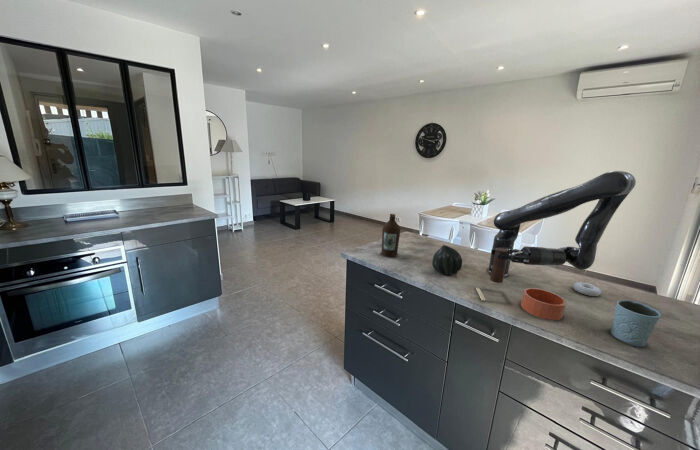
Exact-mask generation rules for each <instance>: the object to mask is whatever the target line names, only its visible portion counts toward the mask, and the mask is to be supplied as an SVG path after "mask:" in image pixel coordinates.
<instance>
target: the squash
mask: <svg viewBox="0 0 700 450" xmlns="http://www.w3.org/2000/svg"><path fill="white" fill-rule="evenodd" d="M431 262H432V264H431V265H432V267H433V269H434V270H435V271H437V272H439V274H441V275H443V274H445V275H446V276H449V275H450V276H451V275H452V274H457V273H458V272H460V271H461V269H462V266H463V258H462V256H461V254H460V252H458V250H457V249H455V248H453V247H451V246H448V245H445V244H443V245H441V246H440V247H439V249H437V251H435V253H434V254H433V257H432V260H431Z"/></svg>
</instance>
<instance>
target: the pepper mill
mask: <svg viewBox="0 0 700 450" xmlns="http://www.w3.org/2000/svg"><path fill="white" fill-rule="evenodd" d="M508 252H509V251H508V250H507V249H504V248H496V249H495V255H494V260H493V266H492V272H491V274H490V278H489V280H490V281H491V282H493V283H495V284H502V283H504V278H505V277H504V273H505V268H506V262H507V260H506V259H498V258H497V255H498V254H508Z"/></svg>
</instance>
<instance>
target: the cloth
mask: <svg viewBox="0 0 700 450" xmlns="http://www.w3.org/2000/svg"><path fill="white" fill-rule="evenodd" d="M475 290H476V292H477V294H478V296H479V298H480V299H481V301H483V302H487V299H486V298H485V296H484V294H483V292H482V290H481V288H479V287H476V288H475Z"/></svg>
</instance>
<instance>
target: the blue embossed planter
mask: <svg viewBox="0 0 700 450" xmlns="http://www.w3.org/2000/svg"><path fill="white" fill-rule="evenodd" d="M661 316H662V313H661V312H660V311H659V310H657V309H655V308H653V307H652V306H649V305H647V304H644V303H641V302H637V301H634V300H629V299H619V300H617V301H616V305H615V309H614V317H613V318H612V325H611V327H610V333H611V335H612V336H614V337H615V338H616V339H618V340H620V341H622V342H624V343H627V344H629V345H630V346H633V347H637V348H643V347H645V346H646V345H647V343H648V341H649V339H650V337H651V334H652V333H653V331H654V329H655V327H656V325H657V323H658V322H659V320H660V318H661Z"/></svg>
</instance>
